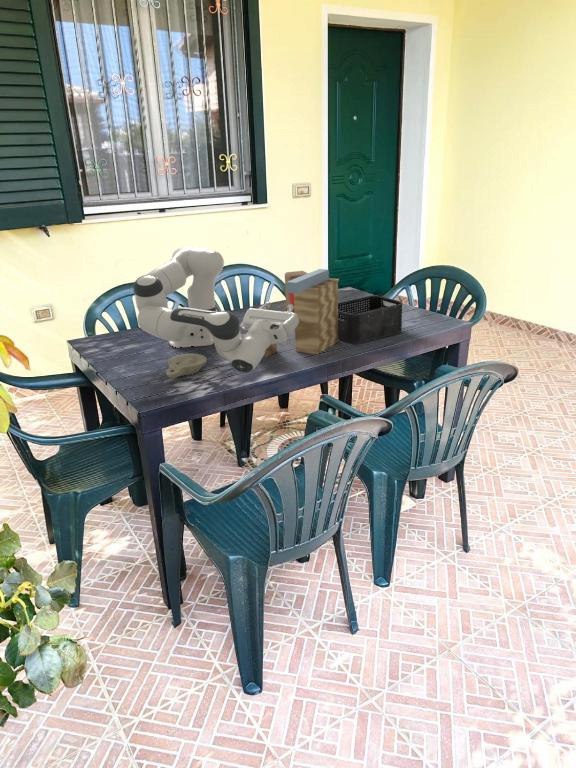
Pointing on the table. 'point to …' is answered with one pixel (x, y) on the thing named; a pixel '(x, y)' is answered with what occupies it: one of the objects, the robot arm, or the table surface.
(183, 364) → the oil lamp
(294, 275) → the block
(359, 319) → the storage bin
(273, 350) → the walnut block
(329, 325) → the oak stand
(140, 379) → the table surface
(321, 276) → the blue bar
